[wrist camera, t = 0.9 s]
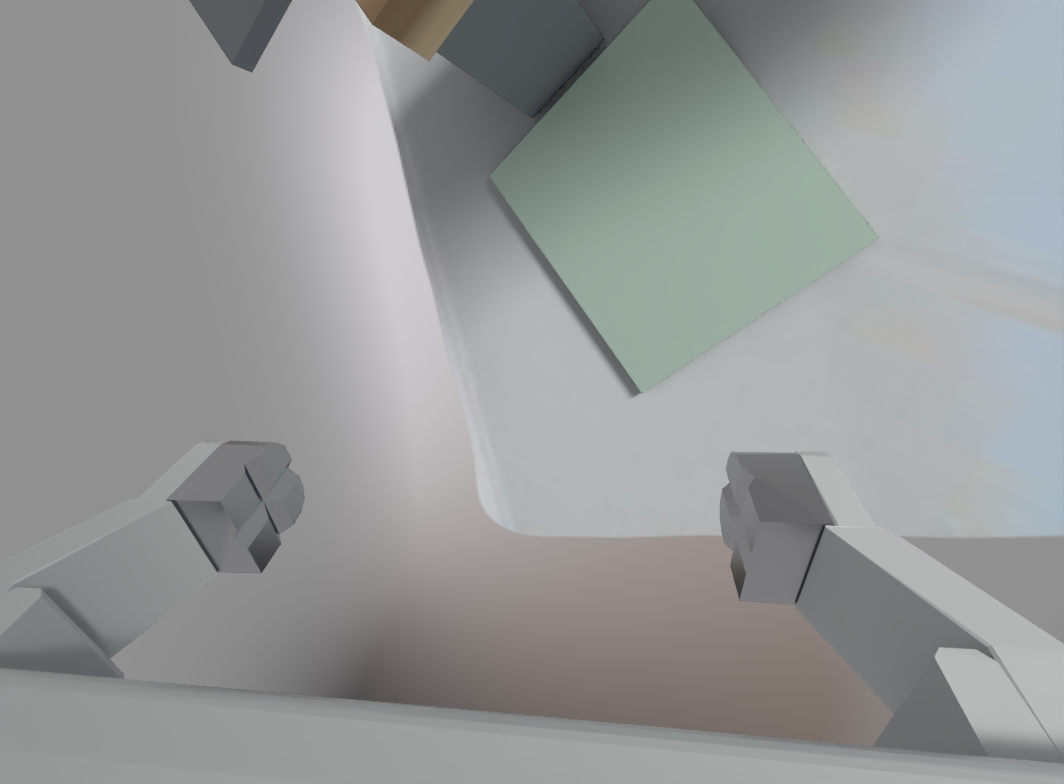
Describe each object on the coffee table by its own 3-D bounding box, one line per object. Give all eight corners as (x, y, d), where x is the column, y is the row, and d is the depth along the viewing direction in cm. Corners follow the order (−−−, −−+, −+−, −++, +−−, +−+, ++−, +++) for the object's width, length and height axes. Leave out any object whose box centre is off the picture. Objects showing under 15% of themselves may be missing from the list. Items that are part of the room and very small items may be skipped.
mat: (876, 238, 35) (878, 237, 34) (644, 391, 44) (642, 393, 43) (675, -20, 37) (673, -26, 36) (493, 177, 46) (488, 175, 46)
